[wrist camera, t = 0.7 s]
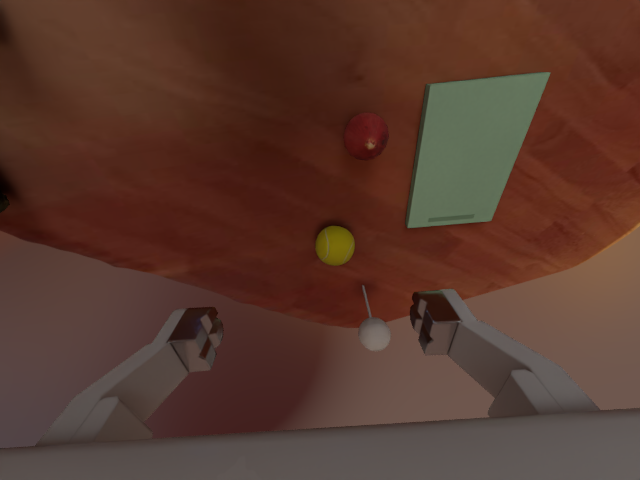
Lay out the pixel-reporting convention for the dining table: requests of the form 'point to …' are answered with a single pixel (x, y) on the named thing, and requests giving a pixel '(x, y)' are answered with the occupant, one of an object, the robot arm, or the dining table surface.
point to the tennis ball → (335, 245)
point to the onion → (366, 136)
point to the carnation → (3, 202)
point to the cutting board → (469, 146)
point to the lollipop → (373, 331)
